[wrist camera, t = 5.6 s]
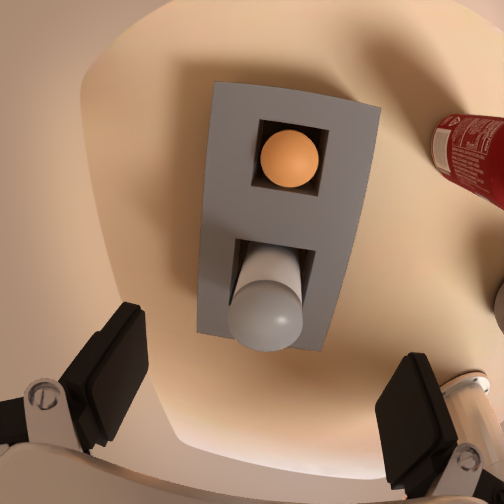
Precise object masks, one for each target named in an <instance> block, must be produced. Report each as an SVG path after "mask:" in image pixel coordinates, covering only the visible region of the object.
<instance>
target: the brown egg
mask: <svg viewBox="0 0 504 504" xmlns="http://www.w3.org/2000/svg"><path fill="white" fill-rule="evenodd" d="M318 161H319V160H318V152H317V149H316V147H315V145H314V144H313V142H312V141H311V140H310V139H309V138H308V137H307V136H306V135H304V134H303V133H302V132H300V131H298V130H295V129H282V130H279V131H277V132H276V133H274V134H273V135H272V136H271V137H270V138H269V139H268V141H267V142H266V143H265V145H264V147H263V149H262V152H261V166H262V169H263V171H264V173H265V174H266V176H267V177H268V178H269V179H270V180H271V181H272V182H274V183H275V184H277V185H280V186H283V187H297V186H300V185H303V184H305V183H306V182H308V181H309V180H310V179H311V178H312V177H313V175H314V174H315V172H316V170H317V167H318Z"/></svg>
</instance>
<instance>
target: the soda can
mask: <svg viewBox="0 0 504 504" xmlns="http://www.w3.org/2000/svg"><path fill="white" fill-rule="evenodd" d="M431 152H432V157H433V161H434V163H435V166H436V168H437V169H438V171H439V172H440V173H441V175H442V176H443V177H445V178H446V179H447V180H449V181H451V182H453V183H455V184H457V185H459V186H461V187H463V188H465V189H467V190H469V191H470V192H472V193H474V194H476V195H478V196H480V197H482V198H483V199H485V200H487V201H489V202H490V203H492V204H494V205H496V206H497V207H499V208H501V209H503V210H504V118H501V117H492V116H483V115H472V114H459V113H458V114H451V115H448V116H446V117H444V118H443V119H442V120H441V121H440V122H439V123H438V125H437V126H436V128H435V130H434V132H433V136H432V141H431Z"/></svg>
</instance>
